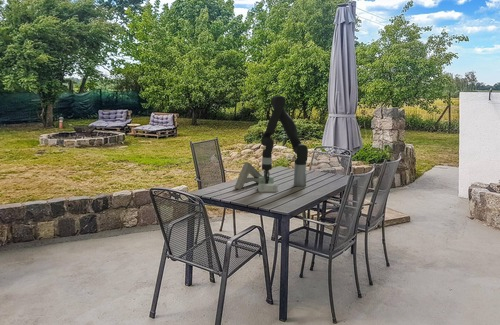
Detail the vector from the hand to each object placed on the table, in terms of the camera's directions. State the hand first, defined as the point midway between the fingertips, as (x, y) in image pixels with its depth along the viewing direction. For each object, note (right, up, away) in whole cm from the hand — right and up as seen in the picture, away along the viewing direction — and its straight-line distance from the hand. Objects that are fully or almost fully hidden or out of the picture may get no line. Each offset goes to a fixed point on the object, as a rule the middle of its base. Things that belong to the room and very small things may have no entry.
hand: (266, 185), depth 293 cm
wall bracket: (-12, -1, +8) cm, 14 cm away
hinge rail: (+1, -4, -8) cm, 9 cm away
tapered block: (0, -2, 0) cm, 2 cm away
